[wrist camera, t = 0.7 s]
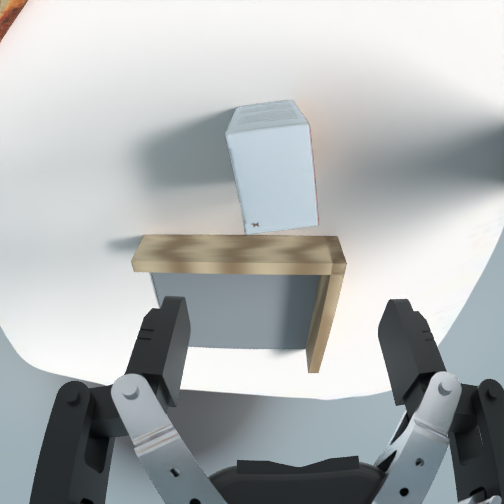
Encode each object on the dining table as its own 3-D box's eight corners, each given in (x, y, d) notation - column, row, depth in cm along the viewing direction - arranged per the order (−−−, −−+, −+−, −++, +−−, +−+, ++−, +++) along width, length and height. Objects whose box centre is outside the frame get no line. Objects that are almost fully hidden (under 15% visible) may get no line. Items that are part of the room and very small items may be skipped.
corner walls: (337, 236, 36) (346, 263, 32) (314, 346, 48) (318, 372, 44) (144, 234, 36) (131, 260, 32) (172, 343, 48) (166, 369, 44)
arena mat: (323, 247, 37) (323, 249, 37) (305, 346, 48) (305, 348, 48) (146, 245, 37) (145, 247, 37) (172, 343, 48) (171, 345, 48)
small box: (303, 174, 32) (320, 229, 23) (249, 181, 32) (245, 238, 24) (294, 97, 27) (312, 122, 19) (234, 105, 28) (223, 133, 19)
